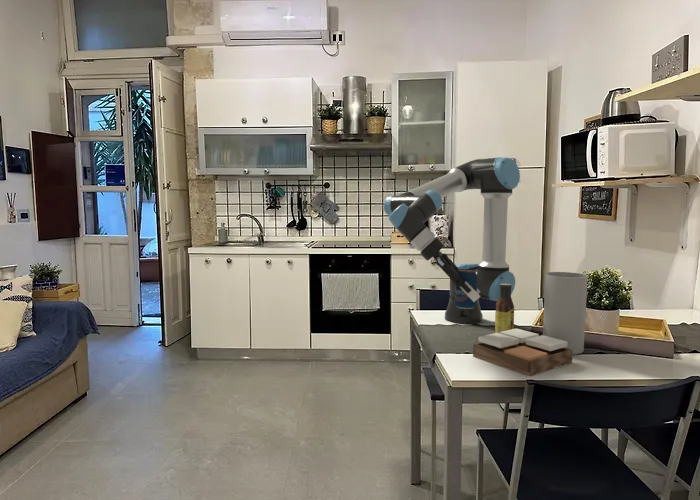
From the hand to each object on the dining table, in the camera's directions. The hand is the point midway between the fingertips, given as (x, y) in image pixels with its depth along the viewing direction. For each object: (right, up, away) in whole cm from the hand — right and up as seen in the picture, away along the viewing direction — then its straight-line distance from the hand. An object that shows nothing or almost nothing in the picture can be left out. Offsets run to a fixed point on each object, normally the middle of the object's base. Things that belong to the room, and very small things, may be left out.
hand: (477, 296), depth 159 cm
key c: (+19, -14, -8) cm, 25 cm away
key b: (+5, -14, -5) cm, 16 cm away
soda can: (-4, -4, +1) cm, 5 cm away
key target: (+11, -16, -13) cm, 24 cm away
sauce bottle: (+13, -17, +15) cm, 26 cm away
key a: (+13, -13, 0) cm, 19 cm away
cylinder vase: (+29, -18, +4) cm, 35 cm away
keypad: (+12, -19, -6) cm, 23 cm away
